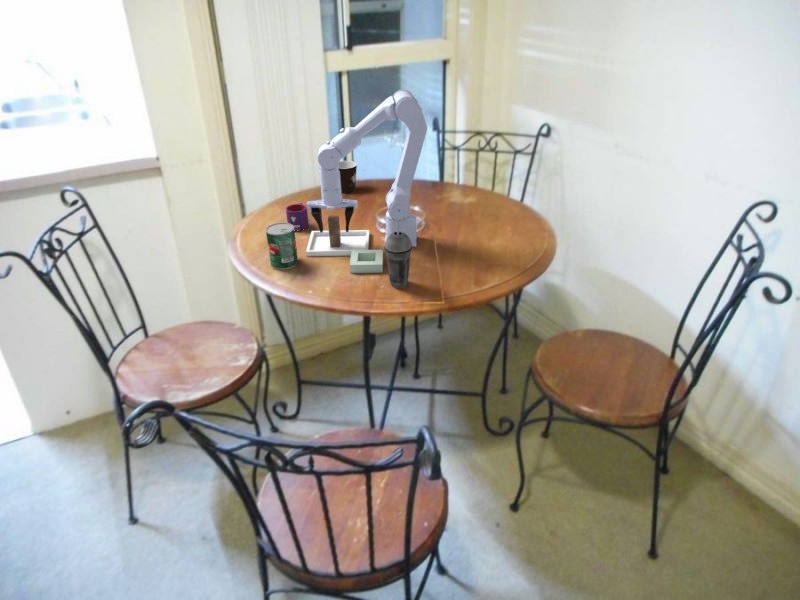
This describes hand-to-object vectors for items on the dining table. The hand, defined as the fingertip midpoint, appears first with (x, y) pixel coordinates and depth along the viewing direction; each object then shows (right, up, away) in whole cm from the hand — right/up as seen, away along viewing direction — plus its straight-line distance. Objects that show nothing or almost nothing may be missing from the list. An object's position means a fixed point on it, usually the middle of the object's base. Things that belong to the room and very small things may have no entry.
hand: (334, 230), depth 170 cm
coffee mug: (-1, +19, +41) cm, 45 cm away
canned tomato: (-14, -10, -6) cm, 18 cm away
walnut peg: (0, -4, +2) cm, 5 cm away
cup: (-13, +4, +16) cm, 21 cm away
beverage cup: (+19, -17, -17) cm, 31 cm away
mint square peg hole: (+10, -11, -8) cm, 17 cm away
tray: (+1, -4, +3) cm, 5 cm away
